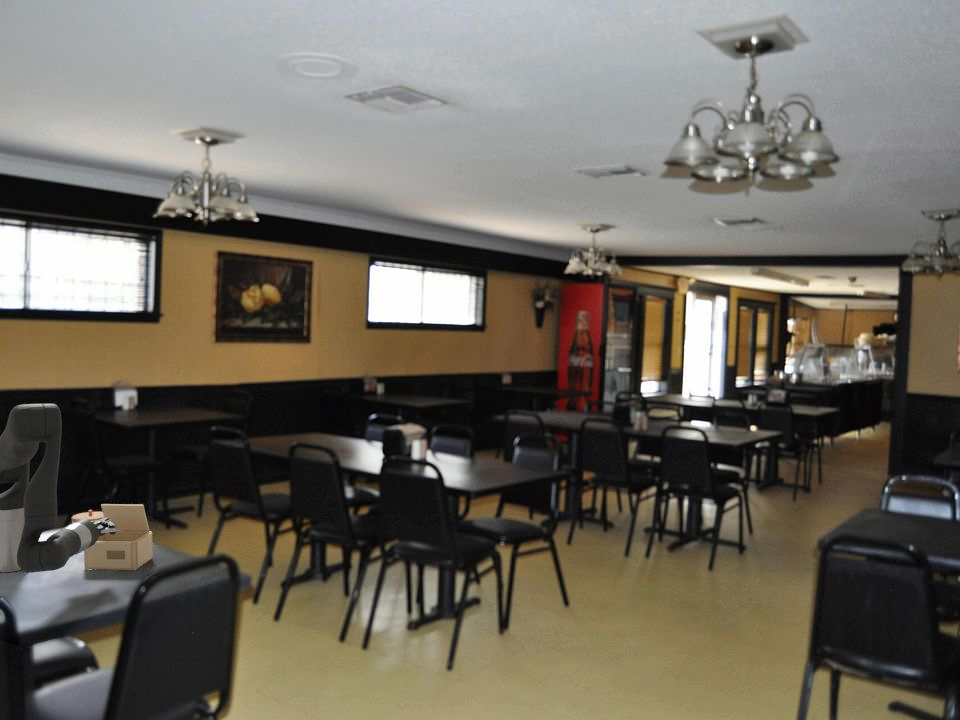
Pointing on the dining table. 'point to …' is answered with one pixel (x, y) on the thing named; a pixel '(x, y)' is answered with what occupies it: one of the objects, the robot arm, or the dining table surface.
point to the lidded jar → (88, 516)
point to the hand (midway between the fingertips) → (106, 521)
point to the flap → (126, 516)
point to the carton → (119, 551)
